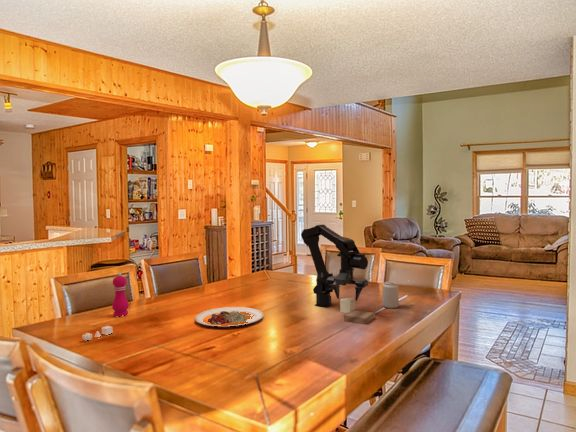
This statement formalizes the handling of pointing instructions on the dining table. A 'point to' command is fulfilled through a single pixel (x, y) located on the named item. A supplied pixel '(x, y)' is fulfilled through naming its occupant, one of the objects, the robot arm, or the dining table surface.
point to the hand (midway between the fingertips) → (347, 299)
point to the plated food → (229, 316)
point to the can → (390, 295)
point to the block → (347, 304)
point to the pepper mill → (120, 296)
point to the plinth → (359, 317)
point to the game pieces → (105, 331)
